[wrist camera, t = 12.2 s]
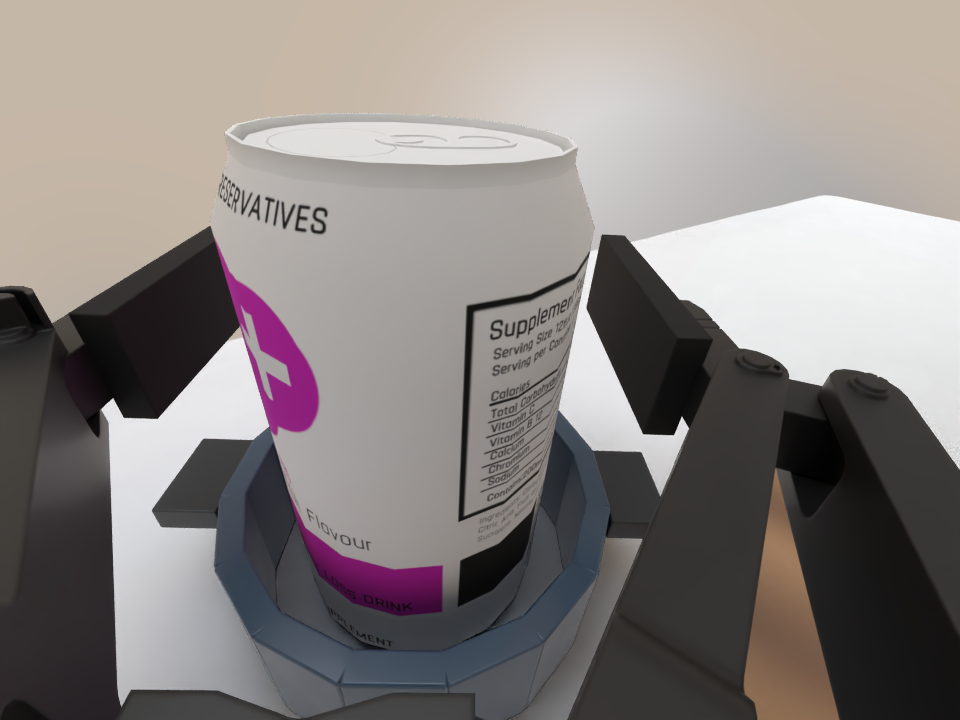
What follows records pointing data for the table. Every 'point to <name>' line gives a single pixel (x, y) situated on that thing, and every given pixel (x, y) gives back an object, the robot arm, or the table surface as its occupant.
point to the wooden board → (785, 633)
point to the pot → (372, 673)
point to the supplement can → (407, 348)
